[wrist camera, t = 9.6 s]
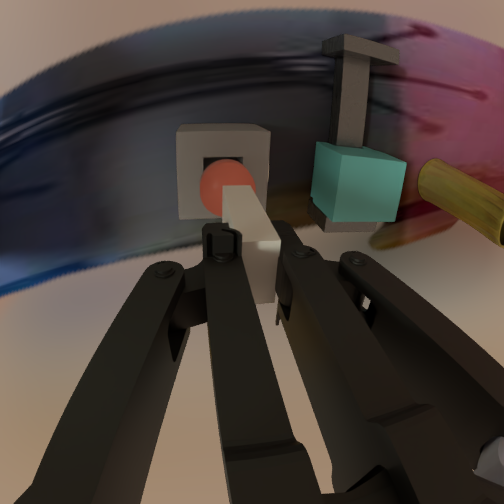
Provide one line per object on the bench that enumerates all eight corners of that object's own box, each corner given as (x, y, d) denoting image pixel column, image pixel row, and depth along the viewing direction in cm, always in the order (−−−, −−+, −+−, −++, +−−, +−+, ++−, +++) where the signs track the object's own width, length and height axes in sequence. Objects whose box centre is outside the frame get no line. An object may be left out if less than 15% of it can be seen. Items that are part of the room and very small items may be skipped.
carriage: (361, 197, 33) (394, 221, 27) (306, 195, 31) (332, 221, 25) (369, 147, 30) (406, 162, 24) (311, 141, 29) (342, 155, 23)
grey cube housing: (182, 192, 29) (179, 219, 23) (181, 124, 26) (176, 132, 20) (253, 190, 31) (268, 216, 25) (257, 123, 27) (274, 131, 21)
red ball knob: (199, 193, 24) (200, 218, 19) (199, 150, 22) (199, 164, 18) (243, 192, 24) (254, 216, 20) (244, 149, 23) (257, 164, 18)
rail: (353, 213, 34) (374, 231, 30) (307, 212, 33) (324, 232, 29) (372, 53, 25) (399, 49, 20) (322, 41, 23) (344, 33, 19)
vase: (425, 209, 36) (498, 262, 23) (410, 175, 33) (493, 224, 20) (452, 183, 34) (526, 227, 22) (439, 149, 31) (523, 187, 19)
